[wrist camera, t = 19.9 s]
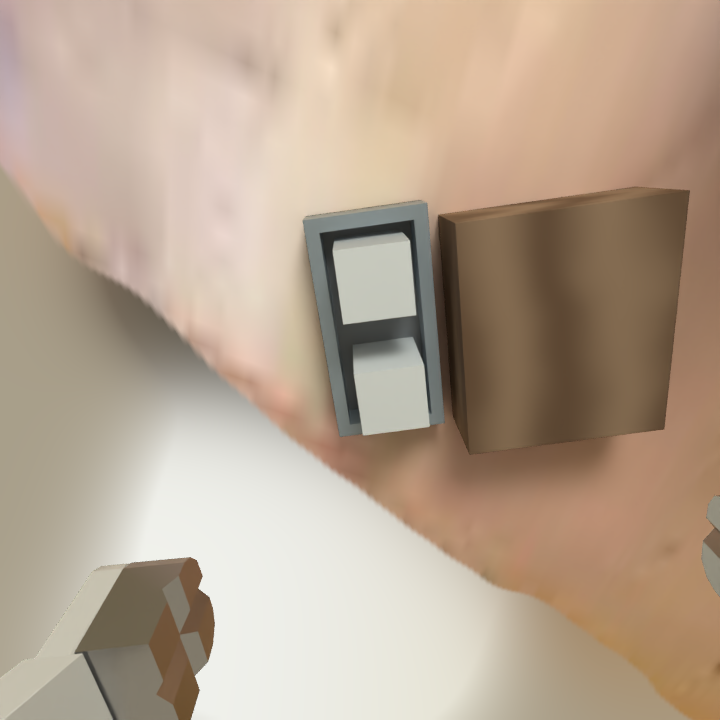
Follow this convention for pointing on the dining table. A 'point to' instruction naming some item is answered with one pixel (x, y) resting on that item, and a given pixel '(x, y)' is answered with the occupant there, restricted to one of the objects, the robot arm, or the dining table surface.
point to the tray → (343, 337)
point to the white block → (374, 276)
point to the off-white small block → (390, 386)
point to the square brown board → (562, 316)
